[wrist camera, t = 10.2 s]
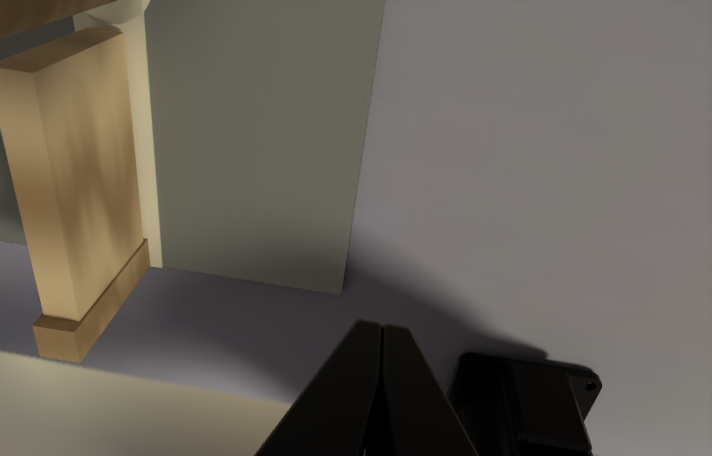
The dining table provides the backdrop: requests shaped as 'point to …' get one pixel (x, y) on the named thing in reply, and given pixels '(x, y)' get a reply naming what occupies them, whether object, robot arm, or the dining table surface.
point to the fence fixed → (72, 172)
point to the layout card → (238, 130)
